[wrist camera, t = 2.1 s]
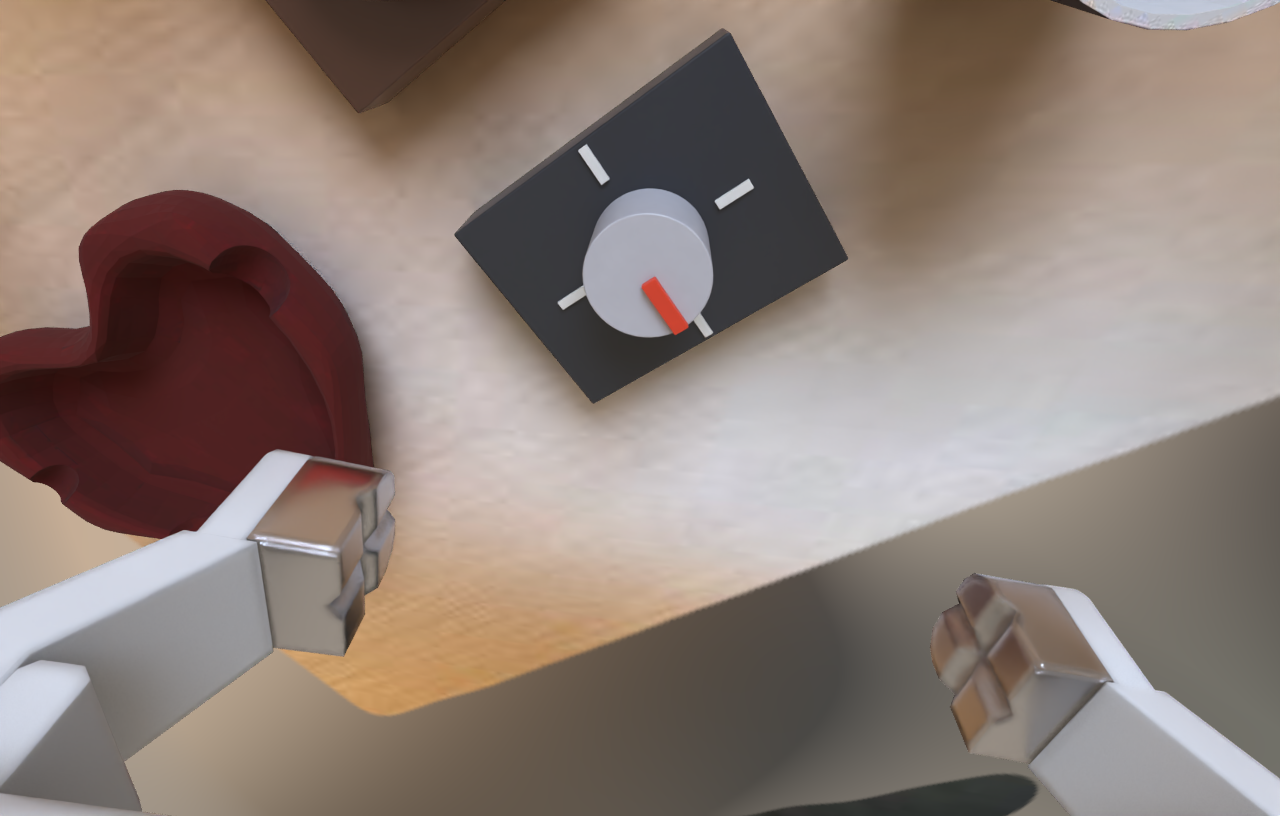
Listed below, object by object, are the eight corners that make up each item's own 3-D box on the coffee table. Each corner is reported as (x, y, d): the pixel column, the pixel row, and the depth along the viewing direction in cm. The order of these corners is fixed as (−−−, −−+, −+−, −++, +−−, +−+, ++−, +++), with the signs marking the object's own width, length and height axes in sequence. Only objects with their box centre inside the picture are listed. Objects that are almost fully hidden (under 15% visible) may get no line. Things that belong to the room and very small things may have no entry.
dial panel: (723, 26, 23) (729, 31, 21) (833, 234, 27) (850, 261, 24) (473, 212, 27) (451, 236, 25) (599, 371, 31) (592, 406, 28)
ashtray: (271, 557, 39) (222, 626, 35) (4, 352, 32) (-98, 406, 28) (498, 423, 33) (472, 485, 29) (230, 135, 26) (145, 162, 22)
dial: (568, 231, 24) (554, 263, 22) (667, 163, 23) (667, 188, 20) (635, 321, 26) (630, 363, 23) (730, 264, 25) (738, 300, 22)
